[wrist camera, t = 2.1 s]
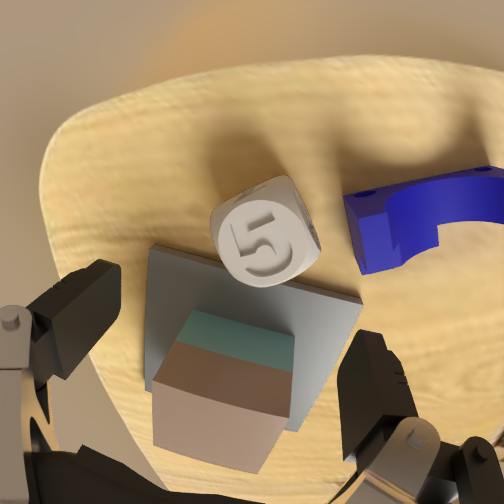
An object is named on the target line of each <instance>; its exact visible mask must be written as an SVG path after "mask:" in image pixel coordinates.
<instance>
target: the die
mask: <svg viewBox="0 0 504 504" xmlns="http://www.w3.org/2000/svg"><path fill="white" fill-rule="evenodd" d="M210 229H211V234H212V238H213V241H214V244H215V247H216V250H217V252H218V254H219V256H220V258H221V260H222V262H223V263H224V265H225V267H226V268H227V270H228V271H229V272H230V273H231V275H232V276H233V277H234V278H236V279H237V280H238V281H240V282H242V283H245V284H247V285H250V286H254V287H269V286H274V285H277V284H280V283H283V282H285V281H287V280H290V279H292V278H294V277H295V276H297V275H299V274H300V273H302V272H303V271H305V270H306V269H308V268H309V267H310V266H311V265H312V264H313V263H314V262H315V261H316V260H317V258H318V256H319V254H320V252H321V246H320V242H319V239H318V236H317V233H316V231H315V228H314V225H313V223H312V221H311V218H310V216H309V213H308V211H307V209H306V207H305V205H304V202H303V200H302V198H301V196H300V194H299V192H298V191H297V189H296V187H295V185H294V183H293V182H292V180H291V179H290V178H289V177H288V176H285V175H281V176H278V177H275V178H272V179H269V180H267V181H265V182H262V183H260V184H258V185H256V186H254V187H252V188H250V189H248V190H246V191H244V192H242V193H240V194H238V195H236V196H234V197H233V198H231V199H229V200H227V201H226V202H224V203H222V204H221V205H219V206H218V207H217V208H215V209H214V210H213V211H212V214H211V218H210Z"/></svg>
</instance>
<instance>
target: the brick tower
mask: <svg viewBox="0 0 504 504" xmlns="http://www.w3.org/2000/svg"><path fill="white" fill-rule="evenodd" d="M362 307H363V302H362V299H361V298H358V297H354V296H350V295H346V294H342V293H338V292H334V291H330V290H326V289H322V288H318V287H314V286H310V285H306V284H302V283H298V282H295V281H291V280H287V281H285V282H283V283H280V284H277V285H274V286H269V287H254V286H250V285H247V284H245V283H242V282H240V281H238V280H237V279H236V278H234V277H233V276H232V275H231V273H230V272H229V271H228V270H227V268H226V267H225V265H224V263H223V262H219V261H215V260H211V259H208V258H204V257H200V256H197V255H193V254H189V253H186V252H182V251H179V250H175V249H171V248H168V247H164V246H160V245H157V244H154V245H153V246H152V247H151V248H149V258H148V272H147V288H146V309H145V391H148V392H151V393H152V415H153V445H154V446H157V447H160V448H163V449H166V450H168V451H171V452H174V453H177V454H180V455H183V456H187V457H190V458H193V459H196V460H200V461H203V462H207V463H211V464H214V465H218V466H222V467H226V468H230V469H234V470H239V471H243V472H248V473H253V474H258V472H259V470H260V469H261V467H262V465H263V464H264V462H265V460H266V459H267V457H268V455H269V454H270V452H271V450H272V449H273V447H274V445H275V443H276V442H277V440H278V438H279V436H280V435H281V433H282V431H283V430H288V431H293V432H298V430H299V428H300V427H301V425H302V423H303V422H304V420H305V418H306V417H307V415H308V413H309V412H310V410H311V408H312V406H313V405H314V403H315V401H316V399H317V398H318V396H319V394H320V392H321V390H322V388H323V387H324V385H325V383H326V381H327V379H328V377H329V375H330V374H331V372H332V370H333V368H334V366H335V364H336V362H337V360H338V358H339V356H340V354H341V352H342V350H343V348H344V346H345V344H346V342H347V340H348V338H349V336H350V334H351V332H352V329H353V327H354V325H355V323H356V321H357V319H358V316H359V314H360V312H361V310H362Z"/></svg>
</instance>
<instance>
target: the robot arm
mask: <svg viewBox="0 0 504 504" xmlns="http://www.w3.org/2000/svg"><path fill="white" fill-rule="evenodd" d="M120 308H121V267H120V266H119V265H118V264H115V263H112V262H109V261H106V260H102V259H98V260H96V261H95V262H93V263H92V264H91V265H89V266H88V267H87V268H82V269H80V270H77V271H74V272H71V273H69V274H68V275H67V276H65V277H64V278H63V279H61V281H60V282H57V283H56V284H55V285H53V288H50V289H48V290H47V291H46V292H44V293H43V294H42V295H40V296H39V297H38V298H37V299H36V300H34V301H33V302H32V303H31V304H29V305H28V306H27V307H22V306H19V305H9V306H4V307H2V308H0V504H265V503H259V502H253V501H247V500H242V499H237V498H232V497H227V496H223V495H219V494H197V493H182V492H172V491H166V490H164V489H162V488H160V487H158V486H156V485H155V484H153V483H152V482H150V481H148V480H147V479H145V478H144V477H142V476H141V475H139V474H137V473H136V472H135V471H133V470H132V469H130V468H129V467H127V466H126V465H124V464H123V463H121V462H119V461H116V460H114V459H112V458H110V457H107V456H105V455H103V454H101V453H99V452H97V451H95V450H92V449H91V448H89V447H87V446H84V445H83V444H82V446H81V447H80V449H79V451H78V453H72V452H66V451H60V448H59V445H58V442H57V439H56V436H55V431H54V423H53V414H52V404H51V392H50V391H51V390H50V382H49V379H50V377H51V376H52V375H53V374H54V375H56V376H58V377H60V378H62V379H64V380H66V379H67V378H68V377H69V375H70V374H71V373H72V372H73V370H74V369H75V368H76V367H77V365H78V364H79V363H80V362H81V361H82V360H83V358H84V357H85V356H86V355H87V353H88V352H89V351H90V350H91V349H92V347H93V346H94V345H95V344H96V343H97V342H98V340H99V339H100V338H101V337H102V336H103V334H104V333H105V332H106V331H107V330H108V329H109V327H110V326H111V325H112V324H113V323H114V322H115V320H116V319H117V317H118V315H119V312H120ZM404 374H405V373H404V370H403V367H402V365H401V362H400V361H399V359H398V358H397V357H396V356H395V354H394V353H393V352H392V351H389V350H387V347H386V344H385V341H384V338H383V336H382V334H380V333H376V332H371V331H366V330H361V329H360V330H358V332H357V333H356V335H355V336H354V339H353V341H352V343H351V345H350V347H349V349H348V351H347V353H346V355H345V356H344V358H343V360H342V362H341V364H340V367H339V370H338V374H337V388H338V398H339V409H340V421H341V434H342V450H343V462H356V464H357V469H356V470H355V471H354V472H353V473H352V475H351V476H350V477H349V478H348V479H347V480H346V482H345V483H344V484H343V485H342V486H341V487H340V489H339V490H338V491H337V492H336V493H335V494H334V495H333V496H332V497H331V499H330V500H329V501H328V502H327V503H326V504H451V503H452V502H453V501H454V500H456V499H457V498H459V503H460V504H504V478H503V474H502V472H501V468H500V464H499V461H498V458H497V455H496V452H495V450H494V448H493V447H492V445H491V444H490V443H489V442H488V441H487V440H485V439H484V438H481V437H477V436H474V437H470V438H468V439H467V440H466V441H465V442H464V443H463V444H462V445H461V446H456V445H453V444H449V443H446V442H443V441H440V436H439V434H438V432H437V430H436V429H435V427H434V426H433V425H432V424H431V423H429V422H428V421H426V420H424V419H422V418H419V416H418V413H417V410H416V407H415V403H414V400H413V397H412V394H411V391H410V388H409V385H407V384H408V382H407V379H406V376H404Z"/></svg>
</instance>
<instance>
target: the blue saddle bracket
mask: <svg viewBox="0 0 504 504" xmlns="http://www.w3.org/2000/svg"><path fill="white" fill-rule="evenodd" d="M343 200H344V205H345V209H346V214H347V219H348V223H349V228H350V233H351V238H352V243H353V249H354V254H355V259H356V261H357V264H358V266H359V269H360V271H361V274H362V275H366V274H372V273H376V272H380V271H384V270H388V269H393V268H395V267H399V266H402V265H403V264H404V263H405V262H406V261H407V260H409V259H410V258H412V257H413V256H415V255H417V254H418V253H421V252H423V251H425V250H428V249H430V248H434V247H437V246H439V241H438V229H437V225H440V224H445V223H452V222H461V221H485V222H493V223H499V224H504V169H502V168H498V167H494V166H485V167H479V168H474V169H468V170H463V171H458V172H453V173H448V174H443V175H438V176H433V177H428V178H423V179H418V180H413V181H409V182H404V183H399V184H394V185H390V186H385V187H381V188H376V189H372V190H367V191H363V192H358V193H354V194H349V195H345V196H343Z"/></svg>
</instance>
